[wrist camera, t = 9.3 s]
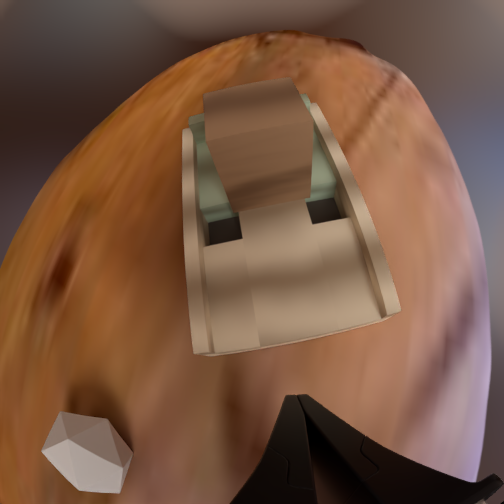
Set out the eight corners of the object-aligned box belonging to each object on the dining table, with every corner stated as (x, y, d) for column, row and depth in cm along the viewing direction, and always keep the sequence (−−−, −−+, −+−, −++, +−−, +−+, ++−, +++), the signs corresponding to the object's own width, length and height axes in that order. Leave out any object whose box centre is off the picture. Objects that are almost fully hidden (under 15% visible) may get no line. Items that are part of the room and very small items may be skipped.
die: (124, 398, 23) (33, 390, 16) (158, 463, 16) (43, 465, 10) (116, 445, 23) (40, 441, 17) (146, 502, 17) (56, 506, 10)
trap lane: (383, 320, 22) (409, 306, 16) (211, 356, 23) (185, 352, 17) (315, 130, 31) (316, 92, 26) (194, 155, 32) (178, 120, 27)
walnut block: (310, 197, 24) (313, 120, 16) (233, 213, 25) (205, 141, 16) (294, 150, 27) (290, 77, 18) (226, 164, 27) (203, 94, 19)
